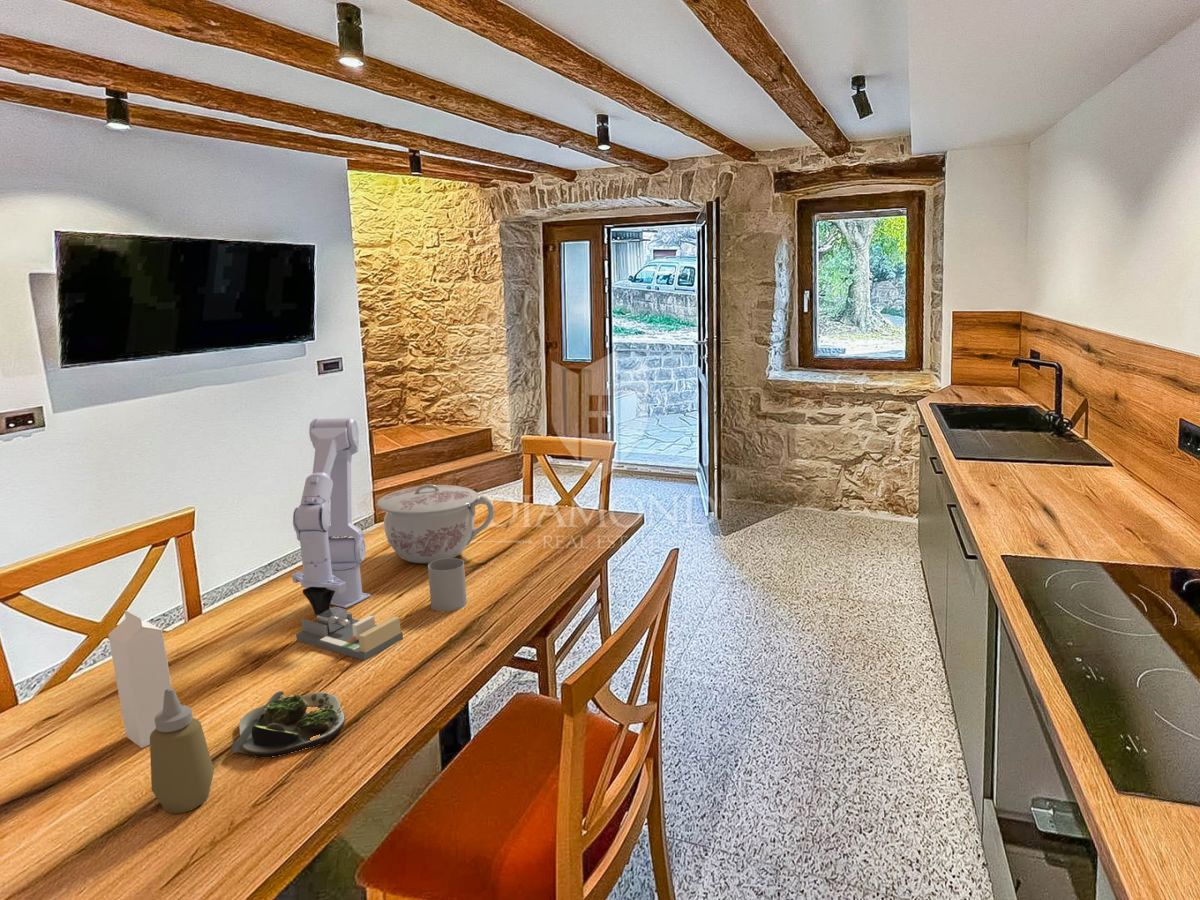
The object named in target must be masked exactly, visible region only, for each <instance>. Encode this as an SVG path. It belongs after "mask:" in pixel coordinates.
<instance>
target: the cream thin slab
mask: <svg viewBox="0 0 1200 900" xmlns="http://www.w3.org/2000/svg"><path fill="white" fill-rule="evenodd" d="M375 620H376V619H375V616H373V615H368V616H367V617H365V618H362V619H361V620H359V621H358V622H357V623H355V624H353V625H352V628H353V638H351V639H349V640H347V643H350V642H352V641H354V640H356V639H359V635H360V634H362V633H364V632H366V631H367V630H369V629H371V628H373V627H375V625H376V621H375Z"/></svg>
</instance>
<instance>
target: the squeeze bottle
mask: <svg viewBox="0 0 1200 900" xmlns="http://www.w3.org/2000/svg"><path fill="white" fill-rule="evenodd" d="M154 720H155V726H156V729H155V730H154V731H153V732H152V733H151V735H150V745H149V749H150V751H149V754H150V755H149V757H150V778H151V779H150V780H151V782H150V784H151V791H152V793H153V794H154V796H155V797H156V798H157V800H158V801H159V803H160V805H161V806H162V808H163V809H164V811H165V812H166V813H169V812H170V813H169V814H182V813H181V812H183V813H187V812H186V811H188V812H190V811H192V810H191V809H193V808H195V809H197V808H198V807H197V806H199V805H200V804H201V805H203V804H204V803H205V802H206V801H205V800H207V799H208V798H209V795H210V790H211V786H212V783H213V782H212V781H213V778H214V772H215V769H214V765H213V762H212V758H211V754H210V751H209V747H208V744H207V740H206V737H205V732H204V729H203V726H202V723H201V721H200V720H199V719H198V718H194V717H193V712H192V707H190V706H189V705H184V704H183V705H182V704H181V701H180V699H179V697H178V695H177V694H176V691H175V689H174V688H170V689H167V690H165V693H164V703H163V710H162V711H161V712H159V713H158V714H157V715H156V716H155V719H154ZM204 801H205V802H204ZM203 802H204V803H203ZM202 803H203V804H202ZM201 805H200V806H201ZM200 806H199V807H200ZM196 807H197V808H196ZM189 810H190V811H189ZM193 810H194V809H193Z"/></svg>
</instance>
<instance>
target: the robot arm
mask: <svg viewBox="0 0 1200 900" xmlns="http://www.w3.org/2000/svg"><path fill="white" fill-rule="evenodd" d="M308 433H309V439H310V441H311V443H312V447H313V449H314V457H313V458H314V459H313V467H312V474H310V475H308V476H307V477H306V479H305V482H304V487H303V491H302V495H301V498H300V499H301V500H300V505H299V506H298V507H295V508H294V510H293V515H292V526H293V529H294V531H295V533H296V540H297V541H299V543H300V544H299V545H300V553H301V563H302V571H301V570H300V571H299V570H298V571H296V572H295V573H292V574H291V577H292V583H294V584H297V583H300V586H301V587H302V588H304V589H302V594H303V595H304V597H306V599H307V600H308V602H309V604H310V605H311V608H312V610H313V612H314V615H315V617H316V618H317V615H318V614H320V613H322V612H324V611H326V610H328V609H330V608H331V605H333V606H335V607H339V608H343V609H347V608H349V607H351V606H353V605H356V604H358V603H360V602H362V601H364V600H367V599H368V598H370V597H371V594H370V593H366V592H363V586H362V576H361V565H360V564H362V563H363V562H364V561H365V559H366V550H367V547H366V542H365V535H364V534H365V533H364V532H363V530H361V529H360V528H359V527H357V526H356V525H355V524H353V523H352V521H353V520H352V519H353V518H352V517H353V516H352V515H353V514H352V512H353V511H352V459H353V458H352V457H353V455H354V454H356V453H358V452H359V442H360V441H359V436H360V435H359V426H358V423H357V420H355V418H354V417H347V418H346V417H345V418H344V417H343V418H313V419H312V421H311V422H310V423H309V430H308ZM333 537H334V538H333ZM335 537H337V538H335Z"/></svg>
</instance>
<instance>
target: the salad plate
mask: <svg viewBox="0 0 1200 900" xmlns="http://www.w3.org/2000/svg"><path fill="white" fill-rule="evenodd" d="M307 707H311V708H313V707H318V708H317V709H315V710H311V711H309V713H307V710H308V709H307ZM319 708H320V709H319ZM323 708H324V709H323ZM345 721H346V717H345V714H344V712H343V710H342V707H341V704H340V702H339V700H338V698H337V697H336V695H334V694H332V693H328V692H313V693H308V694H304V695H299V694H294V695H290V696H285V693H284V691H277V692H275V693H274V694H273V695H272V696H271V698H269V700H268V701H267V702H266V704H264V705H261V706H258V707H256V708H254V709H252V710H251V711H249V712H247V713H246V714H245V715H243V716H242V718H241V719H240V720H239V724H238V725H239V737H238V738H237V739H236V740H235V741H234V743H233V744H232V746H231V747H230V748H231V749H230V751H231V752H232V753H233V754H235V753H244V754H247V755H250V756H252V757H255V756H256V757H255V758H260V757H270V758H273V757H272V756H277V757H280V756H279V755H282V756H284V755H283V754H287V755H289V754H288V753H291V752H295V751H298V752H300V751H299V750H302V749H305V748H309V747H313V746H316V745H318V744H321V743H323V744H324V742H325V743H326V741H327V740H329V739H330V740H332V739H333V738H335V735H336V734H337V735H338V734H339V732H340V731H341V730H342V729H343V727H344V725H345ZM319 734H320V736H319V737H317V738H315V739H313V740H310V738H311V737H313V736H316V735H319ZM337 735H336V736H337ZM332 737H333V738H332ZM331 738H332V739H331ZM330 740H329V741H330ZM327 742H328V741H327ZM321 745H322V744H321ZM318 746H319V745H318ZM316 747H317V746H316ZM313 748H314V747H313ZM302 751H303V750H302ZM295 753H296V752H295ZM291 754H292V753H291Z"/></svg>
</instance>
